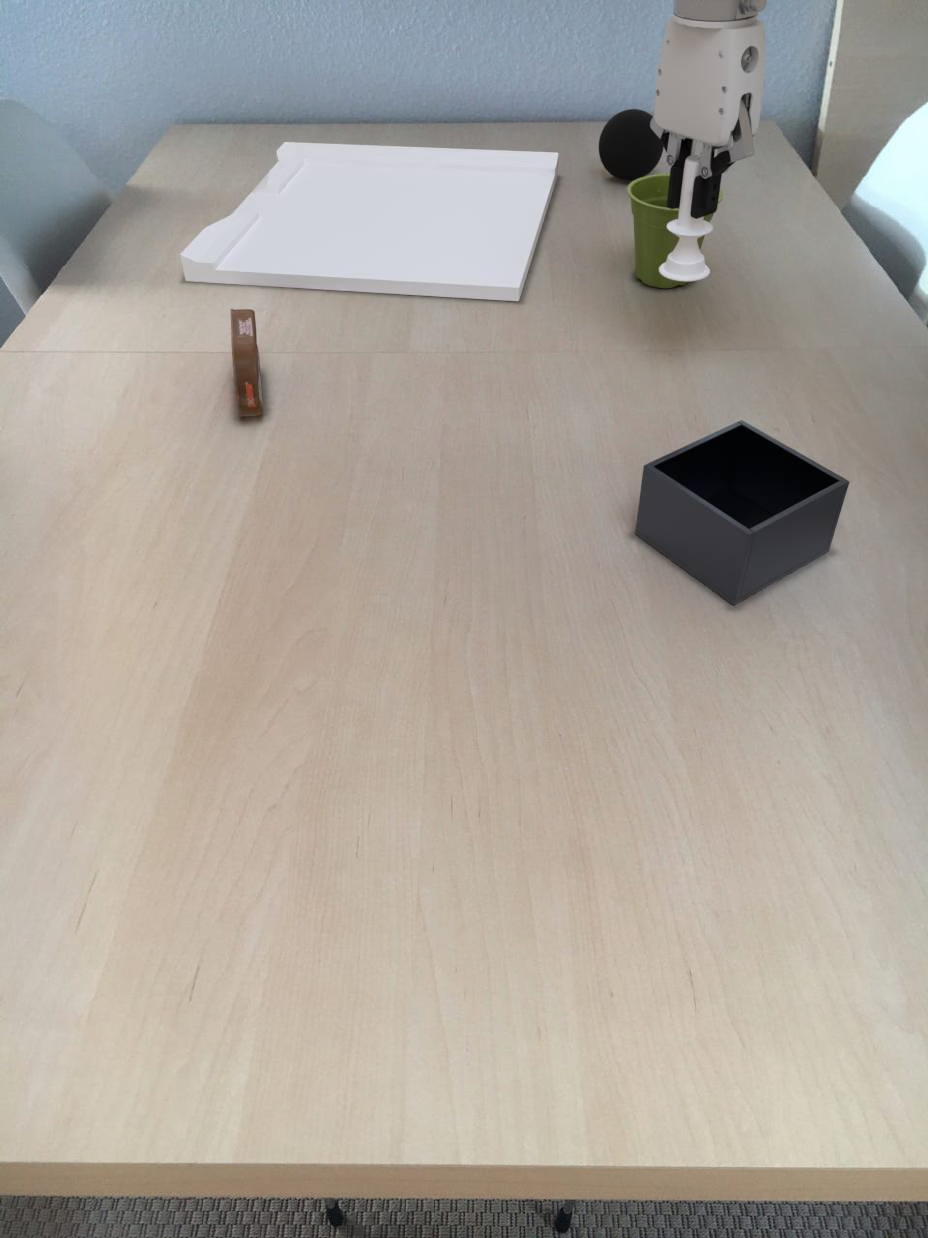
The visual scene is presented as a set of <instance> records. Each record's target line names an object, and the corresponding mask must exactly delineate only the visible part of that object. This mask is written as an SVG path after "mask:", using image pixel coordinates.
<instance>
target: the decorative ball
mask: <svg viewBox="0 0 928 1238" xmlns="http://www.w3.org/2000/svg"><path fill="white" fill-rule="evenodd" d="M652 117H653V115H652V114H651V113H649V112H648V111H646V110H642V109H638V108H630V109H629V108H628V109H624V110H622V111H619V112H617V113H616V114H614V115H613V116H612V117H610V119H609V120H607V121H606V124H605V125H604V126H603V128H602V130H601V133H600V135H599V140H598V154H599V159H600V162H601V164H602V166H603V167H604V169H605V170H606V172H608V174H610V175H611V176H613V177H615V178H616V179H619V180H621V181H634V180H636V179H638V178H641V177H645V176H648V175H650V173H652V171H653V170H654V169H655V168H656V167H657V166H658V164H659V162H660V161H661V158H662V156H663V153H664V146H663V144H662V142H661V139H660V138H659V137H658V136H657V135H656V134H655V132H654V131H653V130H652V129H651V127H650V122H651V120H652Z"/></svg>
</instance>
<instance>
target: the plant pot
mask: <svg viewBox="0 0 928 1238" xmlns="http://www.w3.org/2000/svg"><path fill="white" fill-rule="evenodd" d="M669 178H670V173H658V174H657V173H656V174H648V175H646V176H644V177H641V178H638V179H636V180H631V181H630V182H629V184H628V185H627V187H626V193H627V196H628V197H629V199H630V206H631V214H632V218H633V238H634V264H635V276H636V277H635V278H637V279H639V280H641V282H642V283H643V284H645V285H647V286H650V287H654V288H660V289H673V288H675V287H676V286H685V285H686V284H688V283H689V282H684V281H675V280H671V279H668V278H666V277H664V276H662V275H661V274H660V272H659V267H660V266H661V265H662V264H663V263H665V262H666V260H667V257H668V255H669V254H670V253H671V252H673V250H674V249H675V247H676V245H677V243H678V241H679V238H680V237H678V236H677V235H675V234H673V233H672V232H670V231H669V230H668V229H667V224H668V223H669V222H670V221H672V220H675V219H678V215H679V207H678V208H675V209H670V208H668V207H667V198H668V188H669ZM724 195H725V194H724V191H723V189H722V187H720V192H719V199H718V204H720V203H721V202H722V200H723V199H724ZM714 214H715V213H712V214H709V215H707V216H704V219H703V220H705V221H707V222H709V223H711V222H710V221H711V220H712V219H713V217H714ZM705 236H706V235H703V236H701V237H699V238H697V243H698V247H699V250H700V251H701V250H702V246H703V243H704V240H705Z"/></svg>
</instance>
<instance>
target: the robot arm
mask: <svg viewBox="0 0 928 1238" xmlns="http://www.w3.org/2000/svg"><path fill="white" fill-rule="evenodd" d="M767 4H768V0H673V7H672V13H670V14H669V17H668V20H667V24H666V28H665V31H664V35H663V40H662V44H661V49H660V55H659V59H658V60H659V61H658V67H657V73H656V79H655V89H654V97H653V99H654V100H653V115H652V116H653V117H652V120H651V122H650V127H651V129H652V130H653V131H654V132H655V134H656V135H657V136H658V137H659V138H660V139H661V142H662V144H663V146H664V148H663V150H665V153H666V154H665V155H666V157H665V163H666V164H667V166H668V167H670V169H669V174H670V178H669V188H668V198H667V207H668V208H670V209H675V208H678V207H680V198H681V189H682V181H683V172H684V165H685V161H686V158H687V157H688V156H691V155H692V156H694V155H695V153H696V147H697V142H699V143H701V152H702V153H701V152H700V153H701V155H700V156H701V166H700V174H701V175H699V176H696V177H695V179H694V187H693V195H692V203H691V212H690V215H691V217H693V218H695V219H698V218H701V217H704V216H707V215H709V214H712V213H714V214H715V213H716V212H717V210H718V205H719V203H718V199H719V192H720V188H721V184H722V177H723V174H725V173H727V172H728V171H729V169H730V167H731V166H733V164H735V163H736V162H738V161H741V160H745V159H747V158H750V157H752V156H754V154H755V145H754V140H753V137H755V136H756V135H757V132H758V129H759V125H760V120H761V112H762V105H763V104H762V103H763V94H764V84H765V83H764V82H765V68H766V32H765V31H766V30H765V22H764V21H763V20H760V19H758V16H759V13H761V12H763V11H764V10H765V9H766V6H767ZM732 141H733V144H732ZM716 150H717V152H716ZM715 152H716V154H715Z"/></svg>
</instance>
